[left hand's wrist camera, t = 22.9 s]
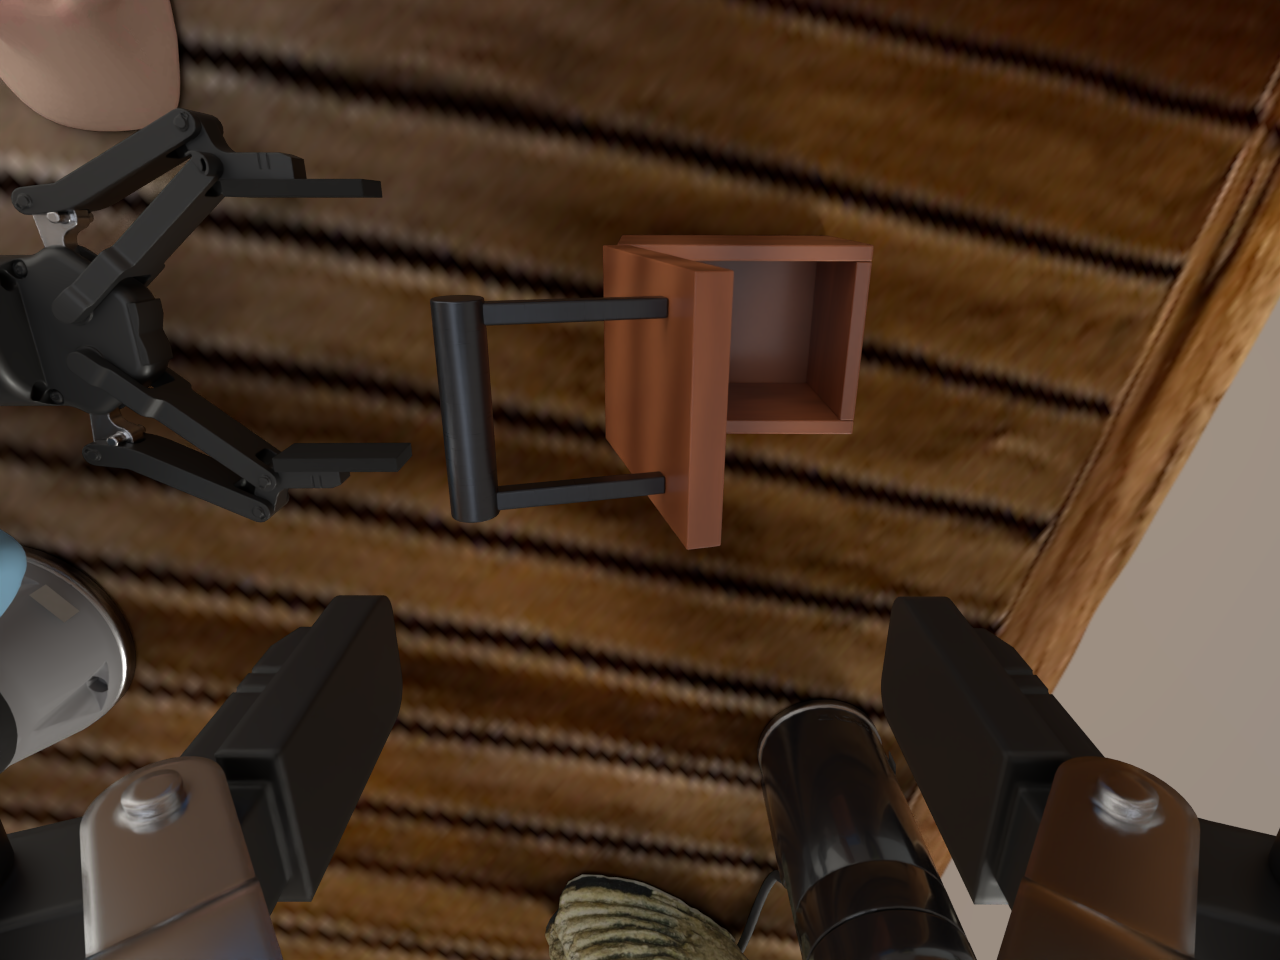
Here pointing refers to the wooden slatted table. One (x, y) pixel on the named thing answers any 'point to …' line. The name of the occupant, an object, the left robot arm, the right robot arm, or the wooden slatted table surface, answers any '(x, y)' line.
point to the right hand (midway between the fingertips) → (390, 331)
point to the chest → (787, 326)
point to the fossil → (632, 925)
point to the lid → (608, 391)
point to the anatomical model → (92, 60)
